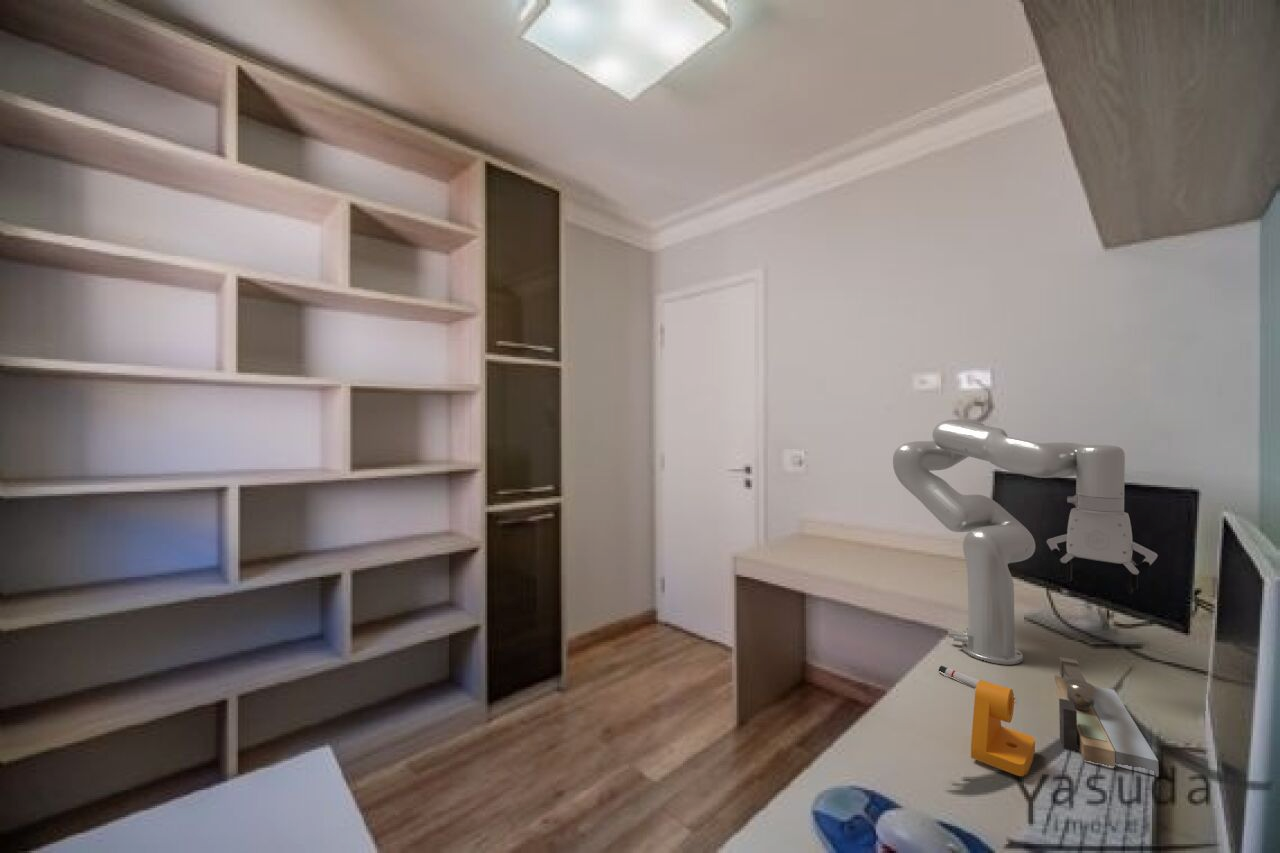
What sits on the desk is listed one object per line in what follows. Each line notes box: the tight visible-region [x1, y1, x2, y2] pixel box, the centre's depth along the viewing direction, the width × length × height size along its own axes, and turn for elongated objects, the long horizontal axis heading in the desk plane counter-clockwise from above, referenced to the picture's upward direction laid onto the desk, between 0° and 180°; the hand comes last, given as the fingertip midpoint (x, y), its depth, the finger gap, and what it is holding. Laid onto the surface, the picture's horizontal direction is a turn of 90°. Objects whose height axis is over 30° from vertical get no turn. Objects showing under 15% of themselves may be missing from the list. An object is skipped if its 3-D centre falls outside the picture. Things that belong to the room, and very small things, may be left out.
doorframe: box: [1054, 674, 1160, 778], centre depth 99 cm, size 12×28×7 cm, turn 149°
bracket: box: [970, 679, 1036, 777], centre depth 90 cm, size 11×7×12 cm, turn 134°
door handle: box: [1059, 656, 1095, 706], centre depth 104 cm, size 14×4×4 cm, turn 149°
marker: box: [938, 665, 1016, 700], centre depth 114 cm, size 15×2×2 cm, turn 30°
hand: (1098, 586), depth 109 cm, fingers open, 9 cm apart
